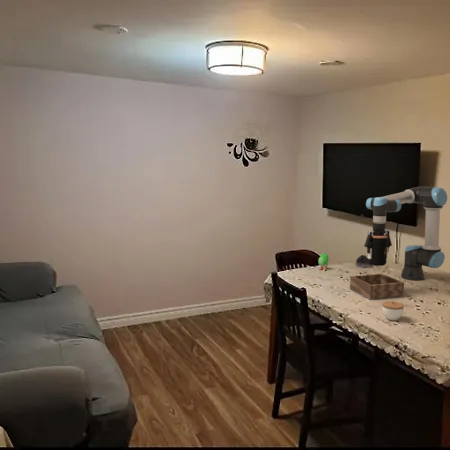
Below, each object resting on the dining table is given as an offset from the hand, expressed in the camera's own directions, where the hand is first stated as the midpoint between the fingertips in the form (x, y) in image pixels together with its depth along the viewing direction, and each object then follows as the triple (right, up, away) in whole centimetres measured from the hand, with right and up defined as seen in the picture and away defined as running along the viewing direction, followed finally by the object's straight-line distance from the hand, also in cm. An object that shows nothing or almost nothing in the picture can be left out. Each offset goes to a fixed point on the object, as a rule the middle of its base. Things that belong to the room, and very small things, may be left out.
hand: (377, 257), depth 283 cm
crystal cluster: (+14, -12, +74) cm, 76 cm away
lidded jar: (-6, -29, -41) cm, 51 cm away
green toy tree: (-22, -14, +63) cm, 68 cm away
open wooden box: (0, -22, +3) cm, 23 cm away
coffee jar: (0, -4, +1) cm, 4 cm away
